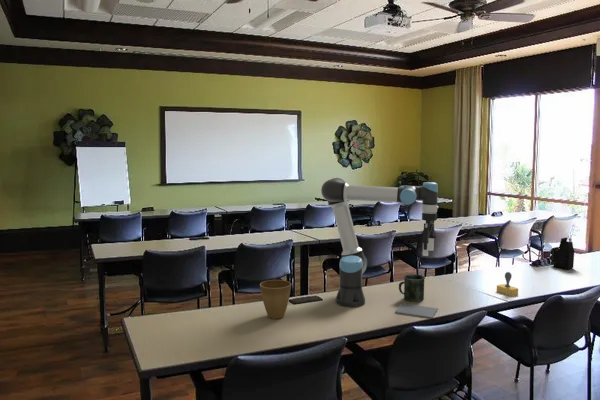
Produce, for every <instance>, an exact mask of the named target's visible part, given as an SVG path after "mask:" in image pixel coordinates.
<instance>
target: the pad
mask: <svg viewBox="0 0 600 400" xmlns="http://www.w3.org/2000/svg"><path fill="white" fill-rule="evenodd" d="M437 310H438V311H439V308H438V307H432V306H431V307H430V306H423V305H418V304H417V305H416V304H410V303H403V302H402V303H400V305H399V306H398V307H397V309H395V311H394V314H398V315H403V316H411V317H416V316H418V318H423V317H426V318H425V319H430V318H431V319H430V320H433V319H432V318H434V317H435V315H436V314H437V312H438V311H437ZM435 313H436V314H435ZM433 316H434V317H433Z"/></svg>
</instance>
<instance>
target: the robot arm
mask: <svg viewBox="0 0 600 400" xmlns="http://www.w3.org/2000/svg"><path fill="white" fill-rule="evenodd" d="M320 192H321V195H322V197H323V198H324V199H325V200H326V201H327V203H328V207H330V208H332V211H333V215H334V216H333V217H334V219H335V224H336V227H337V231H338V234H339V239H340V243H341V247H342V252H341V258H340V260H339V284H338V285H339V287H338V290H337V293H336V297H335V303H336V304H337V305H339V306H342V307H349V308H350V307H351V308H353V307H354V308H355V307H356V308H358V307H362V306H363V305H365V304H366V297H365V294H364V290H363V275H364V273H365V272H366V270H367V267H368V259H367V257H366V256H365V254H364V251H363V248H362V247H360V246H359V242H358V239H357V235H356V231H355V227H354V223H353V219H352V214H351V211H350V207H349V202H350V201H366V202H379V203H381V202H382V203H383V202H384V203H385V202H386V203H398V204H399V203H400V204H405V205H411V204H413V203H414V202H416V201H419V202H422V203H421V211H422V213H421V220H422V221H425V222H424V223H423V231H422V239H421V244H422V256H424V257H429V252H431V251H432V252H433V251H434V250H435V249H434V248H435V247H434V246H435V239H436V231H435V230H436V229H435V221H437V220H438V213H437V212H438V209H439V206H438V201H439V198H438V197H439V185H438V183H437V182H435V181H434V182H433V181H431V182H430V181H427V182H425V181H424V182H423V183H422V185H420V186H418V185H400V186H399V187H392V186H377V185H376V186H372V185H356V184H355V185H354V184H348V183H347V182H346V181H345V180H344V179H343V178H340V177H332V178H331V179H328V180H327V181H325V182H324V183H323V184H322V186H321V189H320Z"/></svg>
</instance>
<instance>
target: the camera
mask: <svg viewBox="0 0 600 400" xmlns="http://www.w3.org/2000/svg"><path fill="white" fill-rule="evenodd" d="M549 254H550V256H549V261H550V265H552V266H553V267H555V268H559V269H564V270H565V271H567V270H571V269H574V262H575V248H574V244H573V241H568V237H562V238H561V239H560V242H559V246H556V247H552V248H551V249H550V250H549Z"/></svg>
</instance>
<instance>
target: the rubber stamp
mask: <svg viewBox="0 0 600 400" xmlns="http://www.w3.org/2000/svg"><path fill="white" fill-rule="evenodd" d="M504 278H505V282H506V284H505V283H502V284H497V285H496V292H497V293H500V294H503V293H504V294H503V295H506V294H507V295H506V296H509V295H510V296H509V297H513V296H512V295H515V296H518V295H519V288H518V287H515V286H512V285H510V282H511V279H512V273H511V272H510V271H507V272H505V273H504Z"/></svg>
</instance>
